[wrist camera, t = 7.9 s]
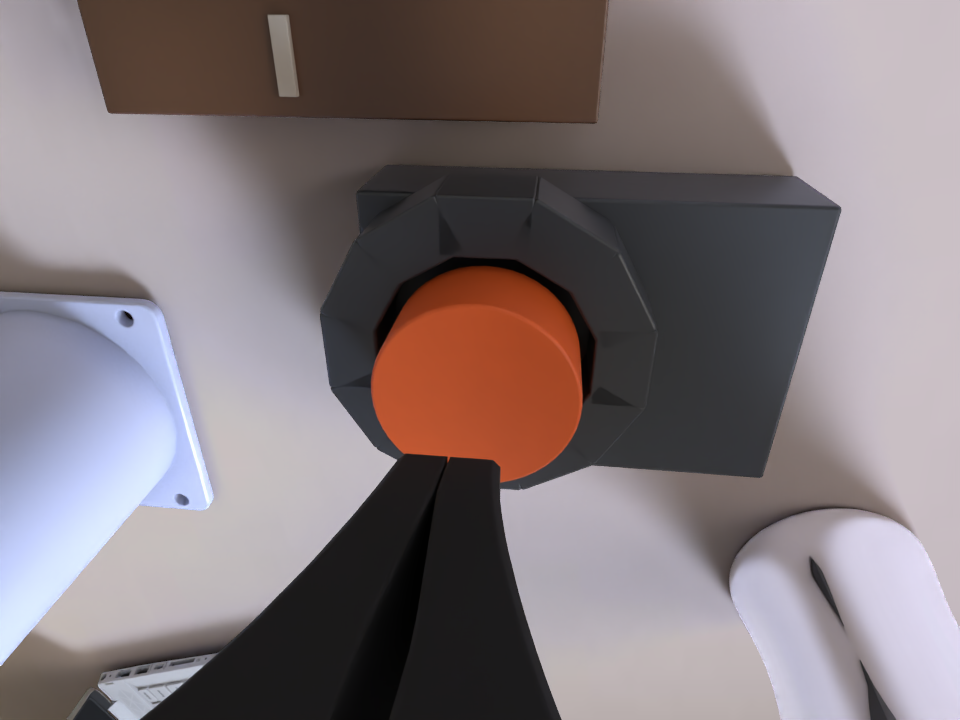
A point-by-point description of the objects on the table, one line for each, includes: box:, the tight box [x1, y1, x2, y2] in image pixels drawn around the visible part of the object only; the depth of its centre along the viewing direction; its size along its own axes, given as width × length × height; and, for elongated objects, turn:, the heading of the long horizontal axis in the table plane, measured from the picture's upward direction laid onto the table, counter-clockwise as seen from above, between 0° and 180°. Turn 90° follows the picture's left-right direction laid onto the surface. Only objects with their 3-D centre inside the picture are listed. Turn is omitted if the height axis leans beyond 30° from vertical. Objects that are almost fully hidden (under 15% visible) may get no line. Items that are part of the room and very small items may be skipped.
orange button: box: [371, 266, 583, 483], centre depth 12 cm, size 4×4×2 cm
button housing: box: [320, 165, 841, 490], centre depth 15 cm, size 10×7×4 cm
